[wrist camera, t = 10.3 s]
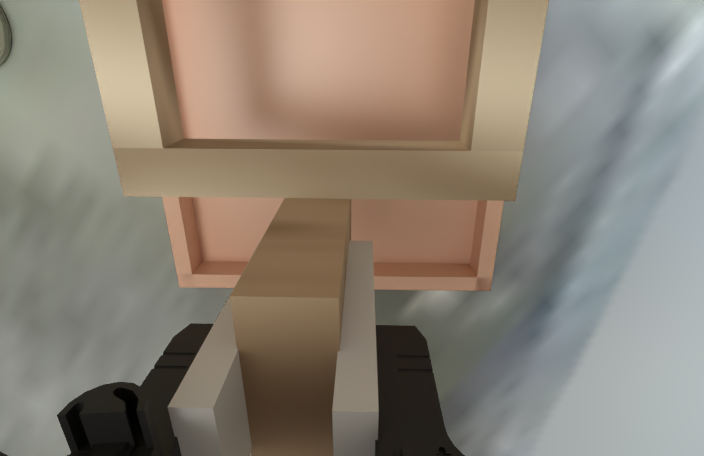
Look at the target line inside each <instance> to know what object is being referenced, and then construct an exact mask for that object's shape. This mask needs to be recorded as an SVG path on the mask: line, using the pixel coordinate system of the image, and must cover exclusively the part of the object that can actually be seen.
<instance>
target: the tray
mask: <svg viewBox="0 0 704 456" xmlns="http://www.w3.org/2000/svg"><path fill="white" fill-rule="evenodd" d="M474 2H475V0H162V5H163V11H164V17H165V24H166V30H167V36H168V43H169V49H170V55H171V61H172V68H173V74H174V80H175V86H176V93H177V99H178V105H179V112H180V118H181V124H182V130H183V137H184V139H303V140H428V141H460V135H461V125H462V116H463V106H464V97H465V87H466V78H467V68H468V59H469V49H470V40H471V30H472V21H473V12H474ZM162 199H163V204H164V209H165V214H166V219H167V225H168V230H169V235H170V240H171V245H172V251H173V256H174V261H175V266H176V271H177V276H178V282H179V287H199V288H234V287H235V285H236V283H237V282H238V280H239V278H240V276H241V275H242V273H243V271H244V269H245V267H246V266H247V264H248V262H249V260H250V258H251V257H252V255H253V253H254V251H255V249H256V248H257V246H258V244H259V242H260V240H261V239H262V238H263V236H264V234H265V232H266V230H267V229H268V227H269V225H270V223H271V221H272V220H273V218H274V216H275V214H276V212H277V211H278V209H279V207H280V205H281V203H282V202H283V200H284V198H237V197H162ZM503 204H504V201H489V200H405V199H351V241H373V268H374V290H457V291H490V290H491V284H492V277H493V270H494V264H495V257H496V251H497V244H498V237H499V231H500V224H501V217H502V211H503Z"/></svg>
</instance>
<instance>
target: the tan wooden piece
mask: <svg viewBox="0 0 704 456" xmlns="http://www.w3.org/2000/svg"><path fill="white" fill-rule="evenodd" d="M79 2H80V7H81V11H82V15H83V20H84V24H85V28H86V33H87V37H88V41H89V46H90V50H91V55H92V59H93V63H94V68H95V72H96V76H97V81H98V85H99V89H100V94H101V98H102V103H103V107H104V111H105V116H106V120H107V124H108V129H109V133H110V137H111V142H112V146H113V151H114V155H115V159H116V164H117V168H118V172H119V177H120V181H121V185H122V190H123V194H124V196H153V197H237V198H284V200H283V202H282V203H281V205H280V207H279V209H278V211H277V212H276V214H275V216H274V218H273V220H272V221H271V223H270V225H269V227H268V229H267V230H266V232H265V234H264V236H263V238H262V239H261V241H260V243H259V245H258V247H257V248H256V250H255V252H254V254H253V256H252V257H251V259H250V261H249V263H248V265H247V266H246V268H245V270H244V272H243V274H242V275H241V277H240V279H239V281H238V283H237V284H236V286H235V288H234V290H233V292H232V293H231V295H230V301H231V308H232V316H233V323H234V330H235V338H236V345H237V349H238V351H239V359H240V366H241V373H242V380H243V387H244V394H245V401H246V409H247V416H248V423H249V430H250V437H251V444H252V449H251V456H333V423H332V407H333V397H334V386H335V375H336V365H337V354H338V351H340V341H341V329H342V317H343V306H344V294H345V283H346V271H347V260H348V248H349V241H351V199H405V200H489V201H515V198H516V192H517V187H518V181H519V175H520V169H521V163H522V157H523V151H524V145H525V139H526V133H527V127H528V121H529V115H530V109H531V103H532V98H533V92H534V86H535V80H536V74H537V68H538V62H539V56H540V50H541V44H542V38H543V32H544V26H545V20H546V14H547V8H548V3H549V0H475V2H474V12H473V21H472V30H471V40H470V49H469V59H468V68H467V78H466V87H465V97H464V106H463V116H462V125H461V135H460V141H428V140H303V139H184V137H183V130H182V124H181V118H180V112H179V105H178V99H177V93H176V86H175V80H174V74H173V68H172V61H171V55H170V49H169V43H168V36H167V30H166V24H165V17H164V11H163V5H162V0H79Z"/></svg>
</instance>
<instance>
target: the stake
mask: <svg viewBox="0 0 704 456" xmlns="http://www.w3.org/2000/svg"><path fill="white" fill-rule="evenodd" d="M10 49H11V31H10V27H9V24H8V21H7V18H6V16H5V14H4V12H3V11H2V9H1V7H0V66H1V65H2V64H3V63H4V62H5V60H6V59H7V57H8V55H9V52H10Z"/></svg>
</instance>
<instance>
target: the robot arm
mask: <svg viewBox="0 0 704 456" xmlns="http://www.w3.org/2000/svg"><path fill="white" fill-rule="evenodd" d="M260 241H261V240H260ZM259 243H260V242H259ZM258 245H259V244H258ZM257 247H258V246H257ZM255 250H256V249H255ZM254 252H255V251H254ZM253 254H254V253H253ZM252 256H253V255H252ZM250 259H251V258H250ZM249 261H250V260H249ZM248 263H249V262H248ZM247 265H248V264H247ZM245 268H246V267H245ZM244 270H245V269H244ZM243 272H244V271H243ZM242 274H243V273H242ZM240 277H241V276H240ZM239 279H240V278H239ZM238 281H239V280H238ZM237 283H238V282H237ZM237 283H236V284H237ZM235 286H236V285H235ZM234 288H235V287H234ZM233 290H234V289H233ZM232 292H233V291H232ZM232 292H231V293H232ZM230 295H231V294H230ZM154 366H155V367H154V369H152V370H151V371H150V373H149V374H148V376H147V377H146V379H145V380H144V382H143V383H142V385H141V386H140V387H139V386H138V385H136V384H134V383H126V382H116V383H111V384H105V385H102V386H99V387H97V388H94V389H92V390H89V391H87V392H85V393H83V394H82V395H80V396H79V397H77V398H76V399H74V400H73V401H71V402H69V404H68V405H67V406H66V407H65V408H64V409H63V410H62V411H61V412H60V413H59V414H58V415H57V417H58V419H59V422H60V424H61V427H62V430H63V432H64V435H65V437H66V440H67V442H68V445H69V448H70V450H71V454H70V455H67V456H250V452H251V449H252V444H251V437H250V430H249V423H248V416H247V409H246V401H245V394H244V387H243V380H242V373H241V366H240V359H239V351H238V349H237V345H236V338H235V330H234V323H233V316H232V308H231V301H230V296H229V298H228V300H227V301H226V303H225V305H224V307H223V309H222V310H221V312H220V314H219V316H218V318H217V319H216V321H215V323H214V324H190V325H189V326H187V327H186V328H185V329H183V330H182V331H181V332H179V333H178V334H177V335H175V336H174V337H173V339H172V340H171V342H170V343H169V345H168V346H167V348H166V349H165V351H164V352H163V356H162V355H161V357H160V358H159V360H158V361H157V362H156V364H155V365H154ZM332 423H333V456H465V455H463V454H462V453H461V452H460V451H459V450H458V449H457V448H456V447H455V446H454V445H453V443H452V442H451V440H450V438H449V437H448V435H447V432H446V429H445V427H444V422H443V417H442V412H441V408H440V403H439V398H438V393H437V389H436V384H435V379H434V374H433V372H432V365H431V360H430V355H429V351H428V346H427V341H426V339H425V338H424V336H423V335H422V334H421V333H420V332H419V330H418V329H417V328H416V327H415V326H389V325H376V323H375V295H374V268H373V241H349V248H348V260H347V271H346V283H345V294H344V306H343V317H342V329H341V341H340V351H338V354H337V365H336V375H335V386H334V397H333V407H332ZM0 456H8V455H6V454H4V453H1V452H0Z"/></svg>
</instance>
